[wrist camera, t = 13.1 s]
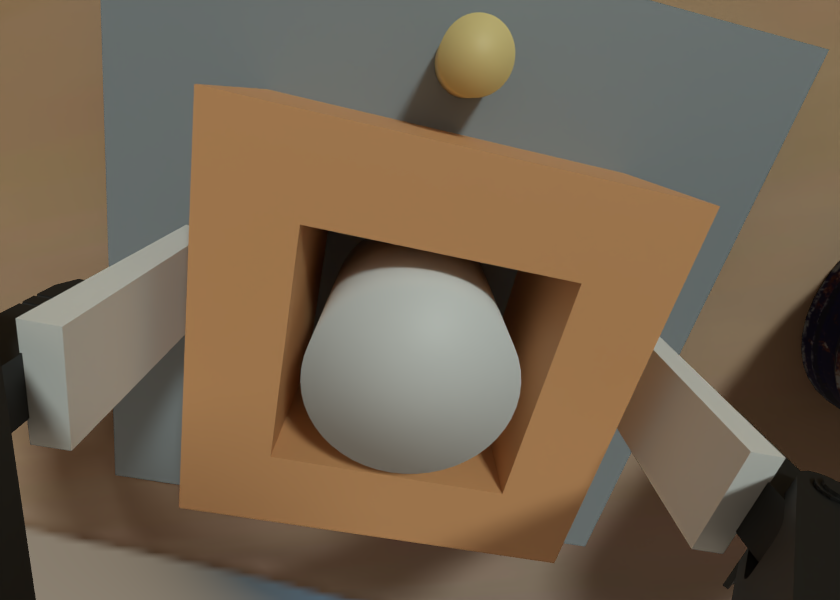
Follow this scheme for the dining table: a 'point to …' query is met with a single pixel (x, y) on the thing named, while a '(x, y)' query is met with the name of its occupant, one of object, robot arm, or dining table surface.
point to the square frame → (430, 231)
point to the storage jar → (824, 339)
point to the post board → (457, 113)
